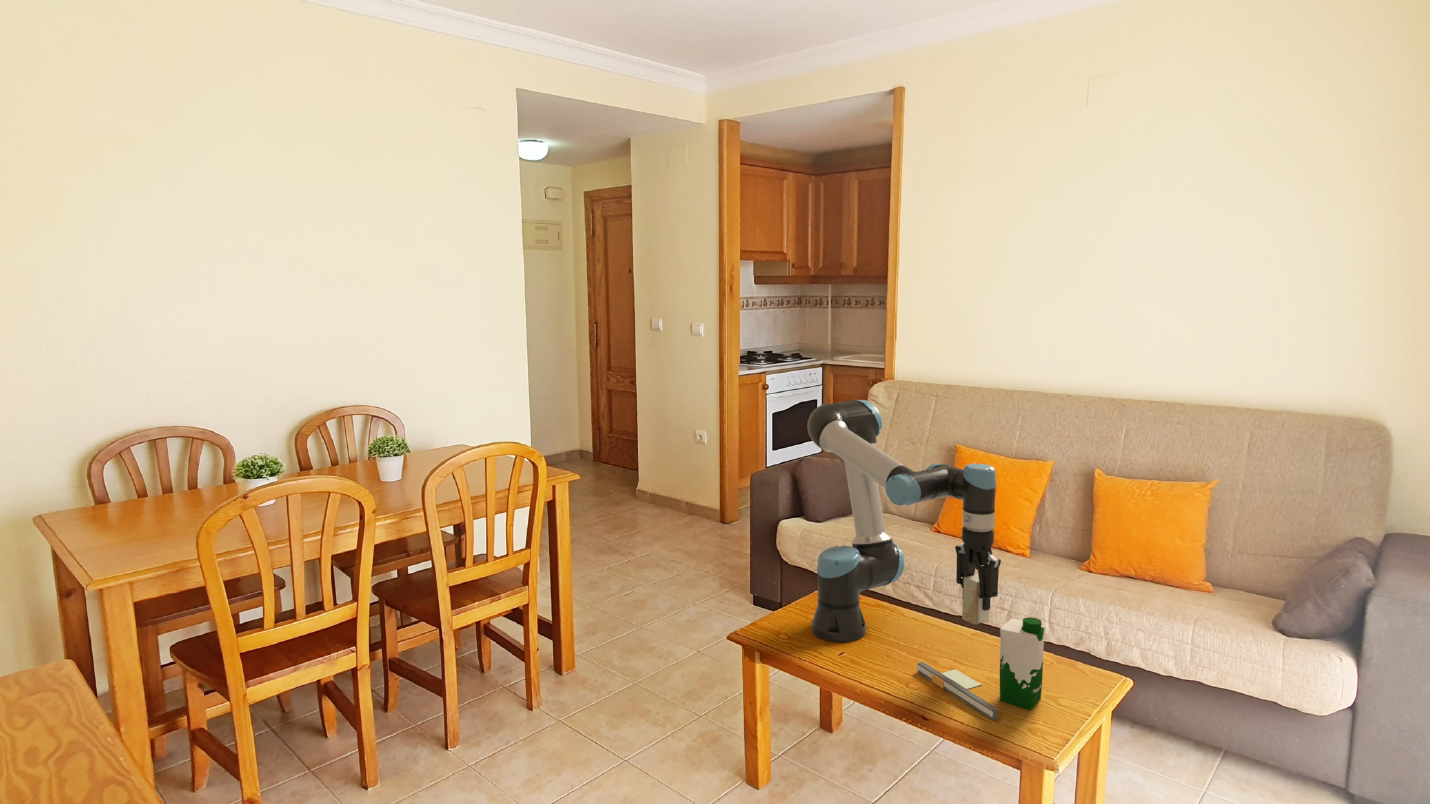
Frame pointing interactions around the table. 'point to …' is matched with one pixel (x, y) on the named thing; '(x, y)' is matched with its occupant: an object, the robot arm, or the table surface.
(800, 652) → the table surface
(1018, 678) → the fresh milk carton
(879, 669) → the table surface
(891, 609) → the table surface
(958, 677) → the pad
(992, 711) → the rail
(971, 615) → the box
